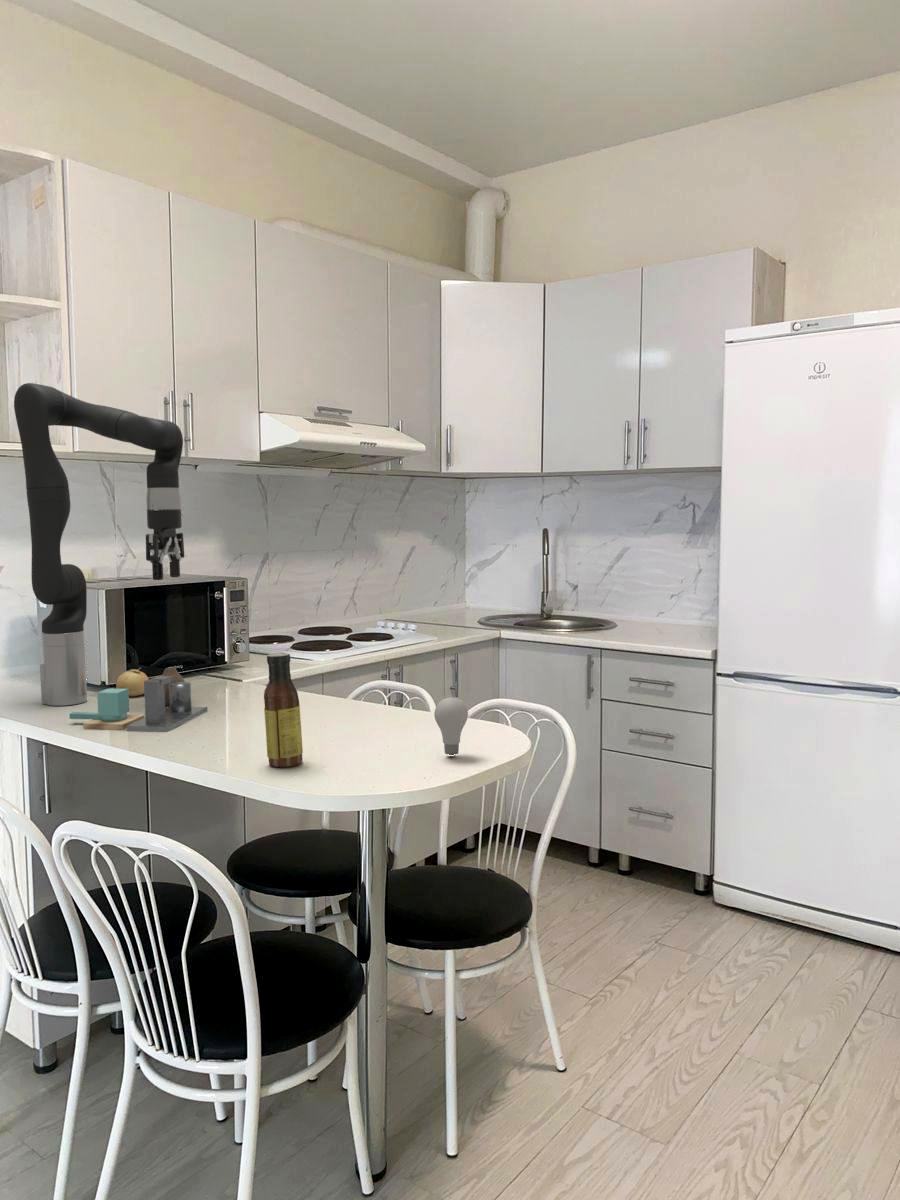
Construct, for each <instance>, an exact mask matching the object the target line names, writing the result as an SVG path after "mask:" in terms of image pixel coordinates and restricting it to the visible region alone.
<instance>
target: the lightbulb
mask: <svg viewBox="0 0 900 1200" xmlns="http://www.w3.org/2000/svg"><path fill="white" fill-rule="evenodd" d="M468 711H469V709H468V707H467V706H466V704H465V702H464V701H463V700H461V699H460V698H458V697H446V698H443V699H441V700H440V701H439V702H438V703H437V704H436V706H435V709H434V712H433V713H434V714H433V715H434V719H435V722H436V725H437V726H438V727H439V729H440V732H441V735H442V743H443V745H444V747H443V748H444V753H445V755H446V754H449V755H454V754H457V755H458V754H459V751H460V750H459V748H460V747H459V746H460V742H461V736H462V731H463V729H464V726H465V725H466V723H467V721H468V718H469V717H468V716H469V712H468Z"/></svg>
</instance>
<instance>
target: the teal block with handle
mask: <svg viewBox="0 0 900 1200" xmlns="http://www.w3.org/2000/svg"><path fill="white" fill-rule="evenodd" d="M96 694H97V696H96V697H97V712H89V711H87V712H84V711H73V712H70V713H69V714H68V715H69V717H68V718H69V720H93V719H96V720H101V721H104V722H116V721H122V720H125V719H127V715H128V713H129V712H130V697H129V691H128V689H117V688H110V687H109V688H105V689H102V690H100V691H98V692H97V693H96Z"/></svg>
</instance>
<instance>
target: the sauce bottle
mask: <svg viewBox="0 0 900 1200" xmlns="http://www.w3.org/2000/svg"><path fill="white" fill-rule="evenodd" d="M266 663H267V664H268V683H267V685H266V687H265V688H264V692H263V699H264V700H263V701H264V703H263V704H264V708H263V710H264V711H263V712H264V721H265V723H264V725H265V736H266V737H265V740H266V753H267V754H266V756H267V758H268V764H269V765H270V766H271V767H275V768H280V767H282V768H291V767H297V766H298V765H300V764H302V763H303V752H304V751H303V750H304V749H303V748H304V747H303V735H302V734H303V733H302V724H301V723H302V721H301V709H300V708H301V706H300V699H299V694H298V691H297V688H296V687H295V685H294V682H293V680H292V678H291V676H292V675H291V665H290V663H291V654H290V653H288V652H273V653H270V654H267V655H266Z"/></svg>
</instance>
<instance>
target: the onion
mask: <svg viewBox="0 0 900 1200" xmlns="http://www.w3.org/2000/svg"><path fill="white" fill-rule="evenodd" d="M140 669H142V667H140V668H138V669H129V670H127V671H125V672H122V674H120V675H119V677H118V678H117V680H116V683H115V684H116V685H115V686H116V688H115V689H128V691H129V698H131V697H136V696H141V695H144V681H146V680H149V679H150V678H149V677H148V676H147V675H146V673H145V672H143V671H140Z"/></svg>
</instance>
